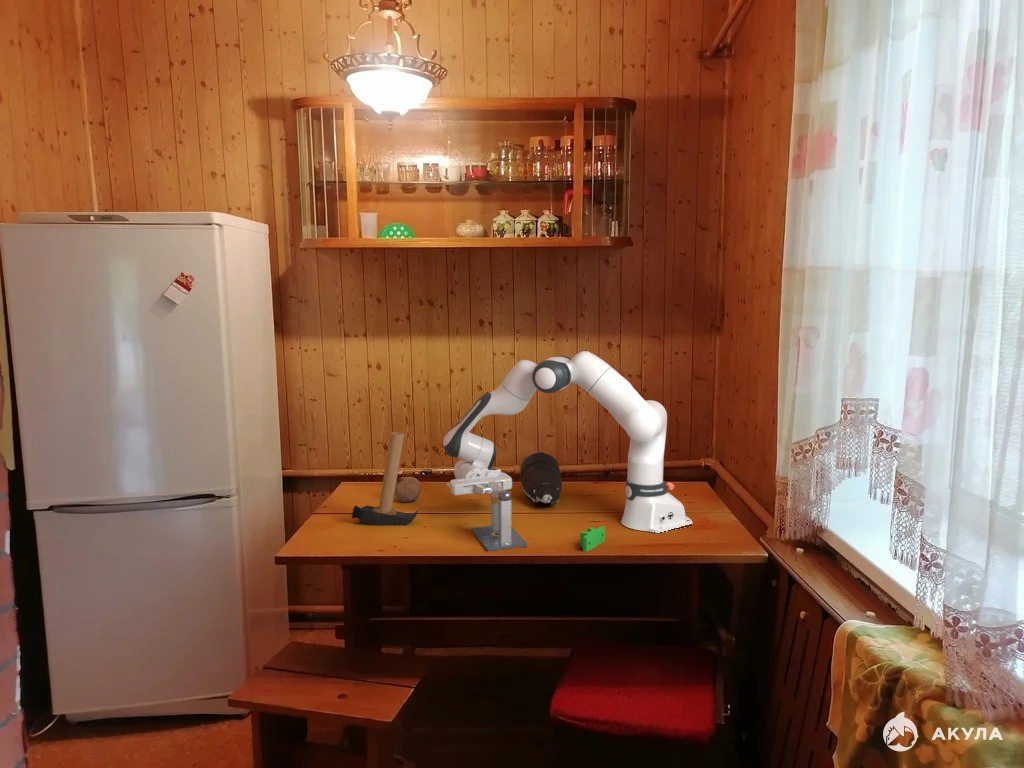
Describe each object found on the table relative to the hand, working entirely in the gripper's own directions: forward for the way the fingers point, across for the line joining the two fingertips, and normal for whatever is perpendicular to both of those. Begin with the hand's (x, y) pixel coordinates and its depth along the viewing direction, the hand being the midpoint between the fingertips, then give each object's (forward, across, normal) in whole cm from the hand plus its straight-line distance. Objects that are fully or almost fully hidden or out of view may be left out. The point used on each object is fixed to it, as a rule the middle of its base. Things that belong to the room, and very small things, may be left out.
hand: (487, 491), depth 222 cm
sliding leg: (+12, -1, +10) cm, 15 cm away
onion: (-33, -20, +10) cm, 40 cm away
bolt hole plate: (+13, -1, +11) cm, 17 cm away
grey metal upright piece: (+13, -1, +10) cm, 17 cm away
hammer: (-12, -31, +11) cm, 35 cm away
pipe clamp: (+26, +23, +12) cm, 37 cm away
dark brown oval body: (-18, +25, +12) cm, 33 cm away
